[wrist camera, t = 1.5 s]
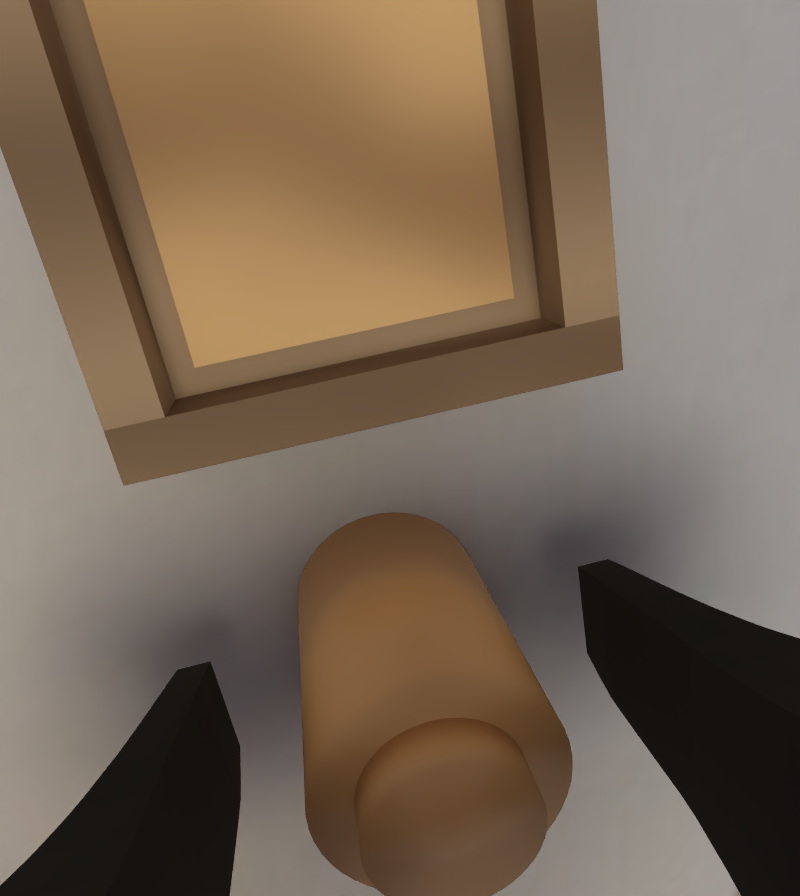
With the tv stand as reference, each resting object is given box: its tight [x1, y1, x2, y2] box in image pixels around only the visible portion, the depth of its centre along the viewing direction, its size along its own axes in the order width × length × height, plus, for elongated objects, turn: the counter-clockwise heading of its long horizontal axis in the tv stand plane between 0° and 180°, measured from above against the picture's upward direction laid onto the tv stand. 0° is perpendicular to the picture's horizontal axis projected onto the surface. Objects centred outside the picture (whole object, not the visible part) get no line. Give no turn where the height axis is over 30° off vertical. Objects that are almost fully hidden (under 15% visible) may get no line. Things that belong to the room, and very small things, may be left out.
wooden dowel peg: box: [298, 513, 573, 896], centre depth 12 cm, size 4×4×6 cm
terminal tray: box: [0, 0, 623, 486], centre depth 11 cm, size 9×9×2 cm
